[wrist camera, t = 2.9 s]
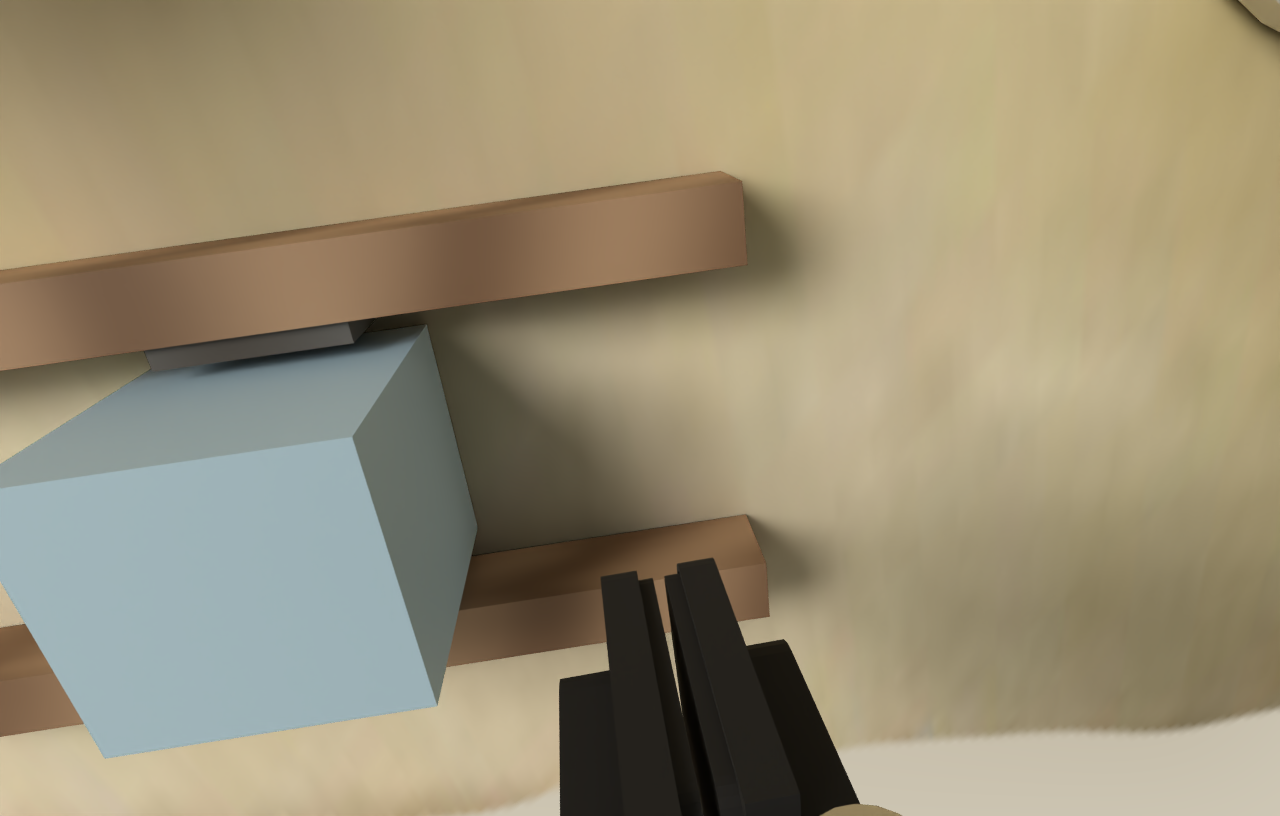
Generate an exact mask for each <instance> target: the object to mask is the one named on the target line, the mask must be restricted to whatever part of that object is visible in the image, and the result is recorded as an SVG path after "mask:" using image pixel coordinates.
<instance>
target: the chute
mask: <svg viewBox="0 0 1280 816" xmlns="http://www.w3.org/2000/svg"><path fill="white" fill-rule="evenodd" d="M743 265H747V250H746V234H745V218H744V202H743V186H742V181H740V180H738V179H736V178H734V177H732V176H730V175H728V174H726V173H724V172H721V171H717V172H710V173H703V174H695V175H688V176H681V177H674V178H666V179H659V180H652V181H645V182H637V183H630V184H623V185H616V186H608V187H601V188H594V189H587V190H579V191H572V192H565V193H558V194H550V195H543V196H536V197H529V198H521V199H514V200H507V201H500V202H492V203H485V204H478V205H471V206H463V207H456V208H449V209H442V210H434V211H427V212H420V213H413V214H405V215H398V216H391V217H384V218H376V219H369V220H362V221H355V222H347V223H340V224H333V225H326V226H318V227H311V228H304V229H297V230H289V231H282V232H275V233H268V234H260V235H253V236H246V237H239V238H231V239H224V240H217V241H210V242H202V243H195V244H188V245H181V246H173V247H166V248H159V249H152V250H144V251H137V252H130V253H123V254H115V255H108V256H101V257H94V258H86V259H79V260H72V261H65V262H57V263H50V264H43V265H36V266H28V267H21V268H14V269H7V270H0V371H3V370H10V369H17V368H24V367H31V366H38V365H45V364H52V363H59V362H66V361H73V360H80V359H87V358H94V357H101V356H108V355H115V354H123V353H130V352H137V351H144V353H145V355H146V357H147V360H148V362H149V365H150V367H151V369H152V372H155V371H162V370H169V369H176V368H183V367H190V366H197V365H204V364H211V363H218V362H225V361H232V360H239V359H246V358H253V357H260V356H267V355H274V354H281V353H288V352H295V351H302V350H309V349H316V348H323V347H330V346H337V345H344V344H351V343H354V342H355V341H356V340H357V339H358V338H359V337H360V336H361V335H362V334H363V333H364V331H365V330H366V329H367V328H368V327H369V326H370V325H371V324H372V323H373V322H374V321H375V319H376V318H377V317H383V316H390V315H397V314H404V313H411V312H418V311H425V310H433V309H440V308H447V307H454V306H461V305H468V304H475V303H482V302H489V301H496V300H503V299H510V298H517V297H524V296H531V295H538V294H545V293H552V292H559V291H566V290H573V289H581V288H588V287H595V286H602V285H609V284H616V283H623V282H630V281H637V280H644V279H651V278H658V277H665V276H672V275H679V274H686V273H693V272H700V271H707V270H714V269H721V268H728V267H736V266H743ZM712 557H713V558H714V560H715V562H716V565H717V568H718V570H719V573H720V576H721V579H722V581H723V584H724V587H725V590H726V592H727V595H728V598H729V600H730V603H731V606H732V609H733V611H734V614H735V617H736V620H737V622H738V621H744V620H750V619H757V618H763V617H770V615H769V599H768V583H767V567H766V562H765V559H764V557H763V554H762V552H761V550H760V547H759V545H758V542H757V540H756V537H755V535H754V533H753V530H752V528H751V525H750V523H749V521H748V518H747V516H746V515H740V516H734V517H727V518H720V519H714V520H707V521H701V522H694V523H688V524H681V525H674V526H668V527H661V528H655V529H648V530H641V531H635V532H628V533H622V534H615V535H609V536H602V537H595V538H589V539H582V540H576V541H569V542H563V543H556V544H549V545H543V546H536V547H530V548H523V549H517V550H510V551H503V552H497V553H490V554H484V555H477V556H471V559H470V564H469V568H468V573H467V577H466V581H465V586H464V590H463V595H462V599H461V603H460V608H459V612H458V617H457V621H456V626H455V630H454V634H453V639H452V643H451V648H450V652H449V656H448V661H447V665H446V667H450V666H456V665H463V664H469V663H475V662H482V661H488V660H494V659H501V658H507V657H514V656H520V655H526V654H533V653H539V652H546V651H552V650H558V649H565V648H571V647H578V646H584V645H590V644H597V643H603V642H607V639H606V629H605V619H604V609H603V599H602V589H601V579H600V577H601V576H607V575H613V574H619V573H624V572H630V571H636V570H637V575H638V580H643V579H649V578H653V581H654V586H655V590H656V595H657V600H658V604H659V609H660V613H661V618H662V623H663V627H664V632H665V633H667V632H671V626H670V618H669V611H668V603H667V596H666V588H665V581H664V576H667V575H672V574H677V563H683V562H689V561H694V560H700V559H706V558H712ZM79 724H84V723H83V721H82V719H81V717H80V716H79V714H78V712H77V711H76V709H75V707H74V706H73V704H72V702H71V701H70V699H69V697H68V695H67V694H66V692H65V690H64V689H63V687H62V685H61V684H60V682H59V680H58V678H57V677H56V675H55V673H54V672H53V670H52V668H51V667H50V665H49V663H48V661H47V660H46V658H45V656H44V655H43V653H42V651H41V650H40V648H39V646H38V644H37V643H36V641H35V639H34V638H33V636H32V634H31V633H30V631H29V629H28V627H27V626H26V624H23V625H17V626H10V627H4V628H0V737H2V736H8V735H15V734H21V733H28V732H34V731H40V730H47V729H53V728H60V727H66V726H72V725H79Z"/></svg>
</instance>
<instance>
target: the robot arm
mask: <svg viewBox="0 0 1280 816" xmlns="http://www.w3.org/2000/svg"><path fill="white" fill-rule="evenodd" d="M1238 1H1240V2H1241V3H1242V4H1243V5H1244V6H1245V7H1246V8H1247V9H1248V10H1249V11H1250V12H1251V13H1252V14H1253V15H1254V16H1255V17H1256V18H1257V19H1258V20H1259V21H1260V22H1261V23H1263V24H1265V25H1267V26H1269V27H1271V28H1273V29H1274V30H1276V31H1278V32H1280V0H1238ZM600 579H601V589H602V599H603V609H604V619H605V629H606V639H607V649H608V659H609V669H610V670H609V671H603V672H598V673H592V674H587V675H581V676H575V677H570V678H564V679H560V683H559V729H560V816H902V815H900V814H898V813H896V812H893V811H890V810H887V809H884V808H882V807H879V806H873V805H863V804H860V803H859V800H858V798H857V796H856V794H855V791H854V789H853V787H852V785H851V782H850V780H849V778H848V776H847V773H846V771H845V769H844V767H843V765H842V763H841V760H840V758H839V756H838V753H837V751H836V749H835V747H834V744H833V742H832V740H831V738H830V736H829V733H828V731H827V729H826V727H825V724H824V722H823V720H822V718H821V715H820V713H819V711H818V709H817V707H816V704H815V702H814V700H813V698H812V695H811V693H810V691H809V689H808V686H807V684H806V682H805V680H804V678H803V675H802V673H801V671H800V669H799V666H798V664H797V662H796V660H795V657H794V655H793V653H792V651H791V649H790V647H789V645H788V643H787V642H786V641H785V640H784V639H782V640H777V641H771V642H766V643H760V644H754V645H749V646H746V644H745V642H744V639H743V636H742V633H741V631H740V628H739V625H738V622H737V620H736V617H735V614H734V611H733V609H732V606H731V603H730V600H729V598H728V595H727V592H726V590H725V587H724V584H723V581H722V579H721V576H720V573H719V570H718V568H717V565H716V562H715V560H714V558H713V557H712V558H706V559H700V560H694V561H689V562H683V563H677V574H672V575H667V576H664V581H665V588H666V596H667V603H668V611H669V618H670V626H671V633H672V640H673V648H674V655H675V663H676V670H677V678H678V685H679V692H680V700H681V706H680V702H679V697H678V692H677V688H676V683H675V678H674V674H673V669H672V664H671V660H670V655H669V651H668V646H667V641H666V637H665V632H664V627H663V623H662V618H661V613H660V609H659V604H658V600H657V595H656V590H655V586H654V581H653V578H649V579H643V580H638V575H637V570H636V571H630V572H624V573H619V574H613V575H607V576H601V577H600ZM681 707H682V711H681ZM682 714H683V715H682Z"/></svg>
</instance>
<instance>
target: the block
mask: <svg viewBox="0 0 1280 816" xmlns="http://www.w3.org/2000/svg"><path fill="white" fill-rule="evenodd" d="M477 528H478V526H477V522H476V518H475V514H474V510H473V506H472V502H471V498H470V494H469V490H468V486H467V483H466V479H465V475H464V471H463V467H462V463H461V459H460V455H459V451H458V447H457V443H456V439H455V435H454V431H453V427H452V423H451V419H450V415H449V411H448V407H447V403H446V399H445V395H444V391H443V387H442V383H441V379H440V375H439V372H438V368H437V364H436V360H435V356H434V352H433V348H432V344H431V340H430V336H429V332H428V328H427V324H426V325H419V326H412V327H405V328H398V329H391V330H383V331H376V332H369V333H363V334H362V335H361V336H360V337H359V338H358V339H357V340H356V341H355V342H354V343H351V344H344V345H337V346H330V347H323V348H316V349H309V350H302V351H295V352H288V353H281V354H274V355H267V356H260V357H253V358H246V359H239V360H232V361H225V362H218V363H211V364H204V365H197V366H190V367H183V368H176V369H169V370H162V371H155V372H152V369H150V370H148V371H147V372H145V373H144V374H142V375H141V376H139V377H137V378H136V379H134V380H133V381H131V382H129V383H128V384H126V385H125V386H123V387H122V388H120V389H118V390H117V391H115V392H114V393H112V394H110V395H109V396H107V397H106V398H104V399H103V400H101V401H99V402H98V403H96V404H95V405H93V406H91V407H90V408H88V409H87V410H85V411H83V412H82V413H80V414H79V415H77V416H76V417H74V418H72V419H71V420H69V421H68V422H66V423H64V424H63V425H61V426H60V427H58V428H57V429H55V430H53V431H52V432H50V433H49V434H47V435H45V436H44V437H42V438H41V439H39V440H38V441H36V442H34V443H33V444H31V445H30V446H28V447H26V448H25V449H23V450H22V451H20V452H19V453H17V454H15V455H14V456H12V457H11V458H9V459H7V460H6V461H4V462H3V463H1V464H0V582H1V583H2V585H3V587H4V588H5V590H6V592H7V594H8V595H9V597H10V599H11V600H12V602H13V604H14V605H15V607H16V609H17V611H18V612H19V614H20V616H21V617H22V619H23V621H24V622H25V624H26V626H27V627H28V629H29V631H30V633H31V634H32V636H33V638H34V639H35V641H36V643H37V644H38V646H39V648H40V650H41V651H42V653H43V655H44V656H45V658H46V660H47V661H48V663H49V665H50V667H51V668H52V670H53V672H54V673H55V675H56V677H57V678H58V680H59V682H60V684H61V685H62V687H63V689H64V690H65V692H66V694H67V695H68V697H69V699H70V701H71V702H72V704H73V706H74V707H75V709H76V711H77V712H78V714H79V716H80V717H81V719H82V721H83V723H84V724H85V726H86V728H87V729H88V731H89V733H90V734H91V736H92V738H93V740H94V741H95V743H96V745H97V746H98V748H99V750H100V751H101V753H102V755H103V757H104V758H105V759H106V758H112V757H118V756H125V755H131V754H137V753H144V752H150V751H156V750H163V749H169V748H175V747H182V746H188V745H194V744H201V743H207V742H213V741H220V740H226V739H232V738H239V737H245V736H251V735H258V734H264V733H270V732H277V731H283V730H289V729H296V728H302V727H308V726H315V725H321V724H327V723H334V722H340V721H346V720H353V719H359V718H365V717H372V716H378V715H384V714H391V713H397V712H403V711H410V710H416V709H422V708H429V707H435V706H437V705H438V701H439V696H440V692H441V687H442V683H443V678H444V674H445V670H446V665H447V661H448V656H449V652H450V648H451V643H452V639H453V634H454V630H455V626H456V621H457V617H458V612H459V608H460V603H461V599H462V595H463V590H464V586H465V581H466V577H467V573H468V568H469V564H470V559H471V555H472V550H473V546H474V542H475V537H476V533H477Z"/></svg>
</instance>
